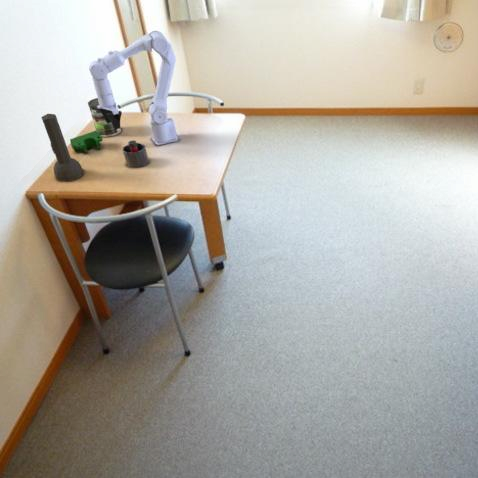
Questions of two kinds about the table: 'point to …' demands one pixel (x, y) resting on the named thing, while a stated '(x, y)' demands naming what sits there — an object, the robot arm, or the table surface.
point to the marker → (133, 146)
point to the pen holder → (136, 156)
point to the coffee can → (101, 120)
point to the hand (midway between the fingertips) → (113, 125)
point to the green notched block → (86, 141)
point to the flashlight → (61, 151)
